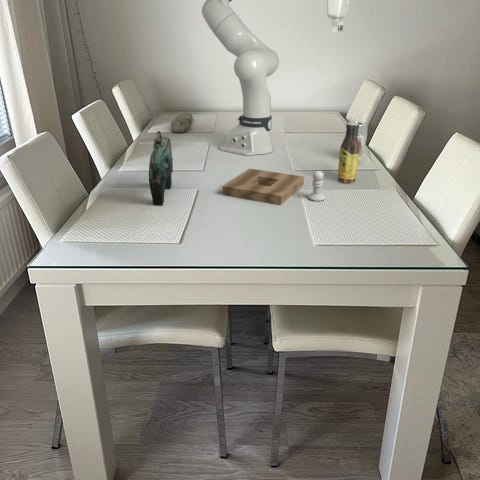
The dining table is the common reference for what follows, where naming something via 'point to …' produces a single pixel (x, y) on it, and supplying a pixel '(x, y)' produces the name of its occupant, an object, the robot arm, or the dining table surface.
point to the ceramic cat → (160, 169)
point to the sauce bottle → (349, 154)
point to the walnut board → (263, 186)
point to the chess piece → (317, 187)
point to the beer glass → (362, 139)
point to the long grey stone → (182, 122)
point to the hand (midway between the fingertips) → (337, 31)
